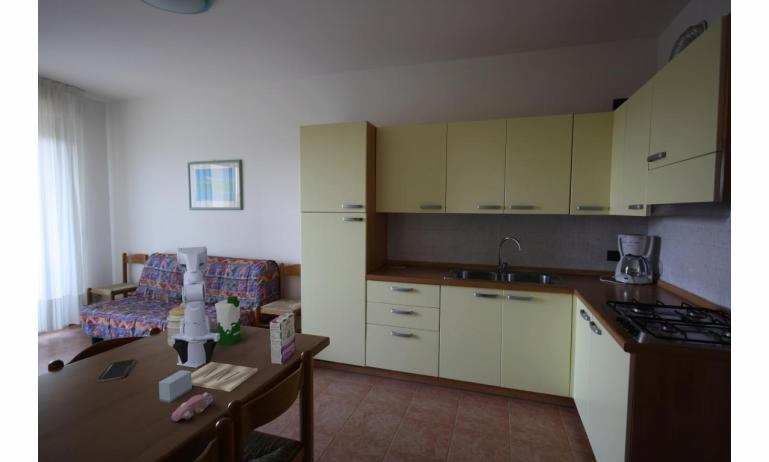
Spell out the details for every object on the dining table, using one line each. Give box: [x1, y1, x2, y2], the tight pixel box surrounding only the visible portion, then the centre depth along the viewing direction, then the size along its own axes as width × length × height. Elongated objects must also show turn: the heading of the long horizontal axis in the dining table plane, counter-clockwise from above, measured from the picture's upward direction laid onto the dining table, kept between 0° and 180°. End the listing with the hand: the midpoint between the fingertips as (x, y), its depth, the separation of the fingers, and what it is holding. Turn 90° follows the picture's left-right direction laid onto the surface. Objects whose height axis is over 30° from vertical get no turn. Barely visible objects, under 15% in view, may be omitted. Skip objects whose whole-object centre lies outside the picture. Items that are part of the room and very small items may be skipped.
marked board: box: [191, 361, 258, 392], centre depth 116 cm, size 20×14×1 cm
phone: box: [97, 358, 137, 383], centre depth 121 cm, size 8×1×15 cm
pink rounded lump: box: [171, 391, 214, 422], centre depth 95 cm, size 10×5×7 cm, turn 148°
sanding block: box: [158, 369, 193, 404], centre depth 105 cm, size 4×8×6 cm, turn 165°
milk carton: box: [214, 295, 242, 346], centre depth 147 cm, size 9×9×20 cm
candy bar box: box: [269, 312, 297, 365], centre depth 131 cm, size 11×5×16 cm, turn 168°
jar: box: [166, 302, 185, 348], centre depth 147 cm, size 13×13×18 cm
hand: (196, 362), depth 108 cm, fingers open, 7 cm apart
